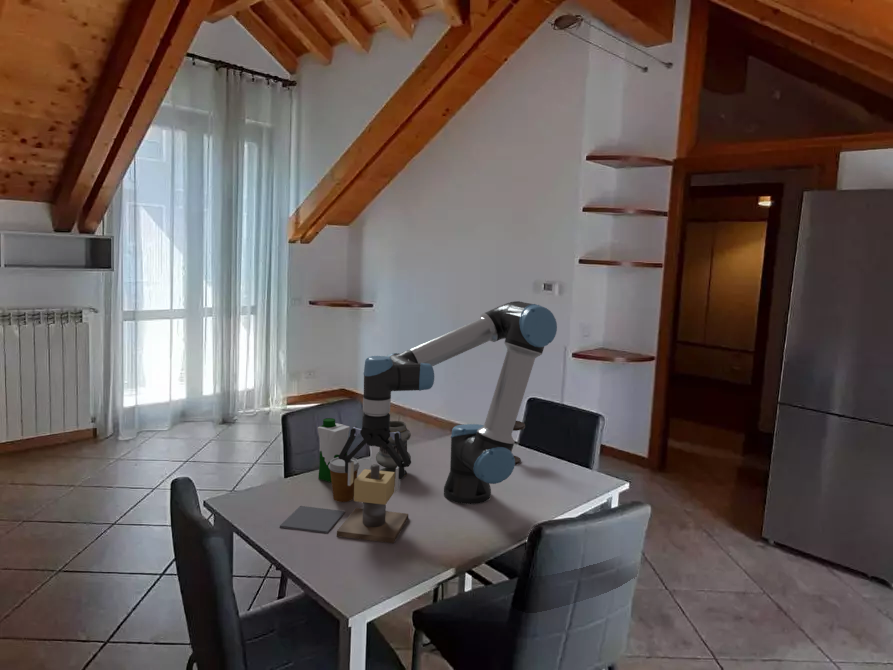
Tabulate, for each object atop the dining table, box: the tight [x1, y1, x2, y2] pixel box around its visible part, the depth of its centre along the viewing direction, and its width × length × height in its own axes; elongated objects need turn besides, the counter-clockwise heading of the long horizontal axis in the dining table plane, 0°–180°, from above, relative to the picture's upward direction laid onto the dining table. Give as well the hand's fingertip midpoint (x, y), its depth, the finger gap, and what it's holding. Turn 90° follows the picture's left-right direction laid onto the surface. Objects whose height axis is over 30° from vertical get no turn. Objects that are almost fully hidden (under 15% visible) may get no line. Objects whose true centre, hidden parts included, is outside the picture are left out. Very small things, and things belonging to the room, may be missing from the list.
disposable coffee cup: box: [329, 457, 360, 503], centre depth 197 cm, size 10×10×12 cm
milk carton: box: [317, 417, 351, 484], centre depth 213 cm, size 9×9×20 cm
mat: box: [279, 505, 346, 534], centre depth 182 cm, size 14×14×1 cm
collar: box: [353, 468, 395, 506], centre depth 177 cm, size 9×9×6 cm
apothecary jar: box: [375, 420, 412, 477], centre depth 220 cm, size 12×12×18 cm
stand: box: [336, 463, 409, 544], centre depth 178 cm, size 16×16×18 cm
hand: (373, 486), depth 177 cm, fingers open, 13 cm apart
